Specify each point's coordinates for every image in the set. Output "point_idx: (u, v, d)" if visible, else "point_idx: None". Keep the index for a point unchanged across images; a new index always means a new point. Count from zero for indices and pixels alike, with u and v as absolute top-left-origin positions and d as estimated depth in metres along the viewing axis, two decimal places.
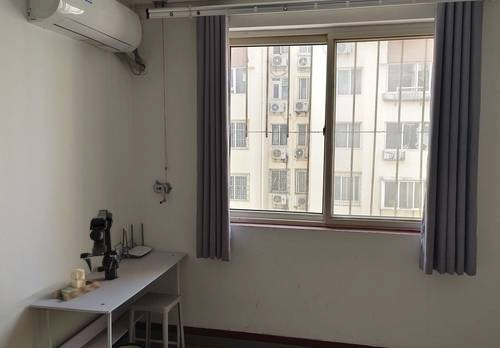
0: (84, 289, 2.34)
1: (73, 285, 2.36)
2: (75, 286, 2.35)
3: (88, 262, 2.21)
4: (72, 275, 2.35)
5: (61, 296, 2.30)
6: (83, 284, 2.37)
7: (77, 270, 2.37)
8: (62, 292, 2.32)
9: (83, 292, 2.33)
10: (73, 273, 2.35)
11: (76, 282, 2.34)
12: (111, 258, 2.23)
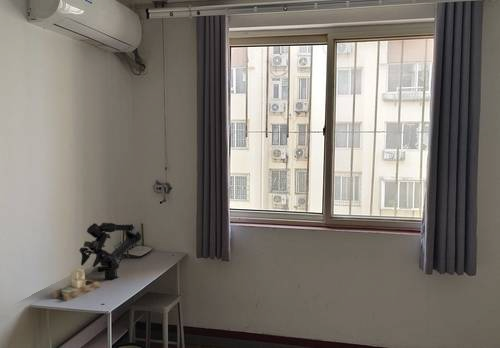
0: (84, 289, 2.34)
1: (73, 285, 2.36)
2: (75, 286, 2.35)
3: (83, 256, 2.46)
4: (72, 275, 2.35)
5: (61, 296, 2.30)
6: (83, 284, 2.37)
7: (77, 270, 2.37)
8: (62, 292, 2.32)
9: (83, 292, 2.33)
10: (73, 273, 2.35)
11: (76, 282, 2.34)
12: (97, 255, 2.41)
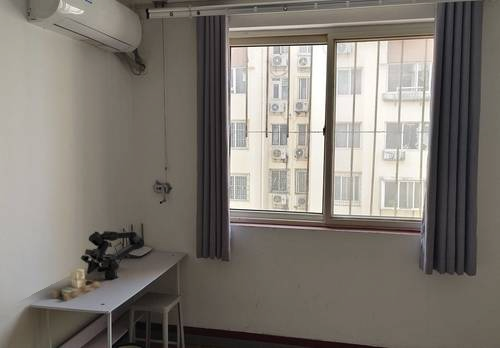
0: (84, 289, 2.34)
1: (73, 285, 2.36)
2: (75, 286, 2.35)
3: (89, 264, 2.45)
4: (72, 275, 2.35)
5: (61, 296, 2.30)
6: (83, 284, 2.37)
7: (77, 270, 2.37)
8: (62, 292, 2.32)
9: (83, 292, 2.33)
10: (73, 273, 2.35)
11: (76, 282, 2.34)
12: (92, 263, 2.44)
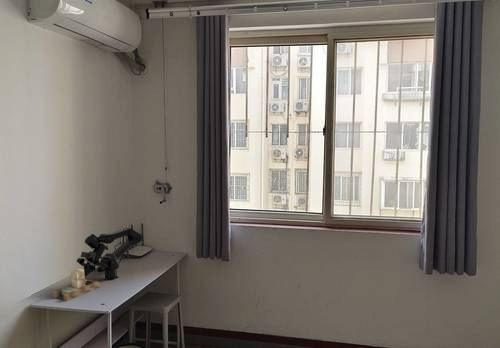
0: (84, 289, 2.34)
1: (73, 285, 2.36)
2: (75, 286, 2.35)
3: (84, 267, 2.42)
4: (72, 275, 2.35)
5: (61, 296, 2.30)
6: (83, 284, 2.37)
7: (77, 270, 2.37)
8: (62, 292, 2.32)
9: (83, 292, 2.33)
10: (73, 273, 2.35)
11: (76, 282, 2.34)
12: (88, 266, 2.41)
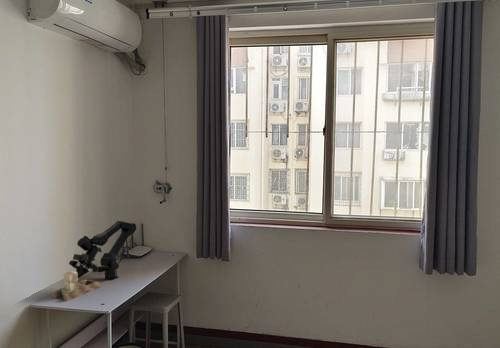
0: (84, 289, 2.34)
1: (66, 288, 2.32)
2: (68, 289, 2.31)
3: (77, 270, 2.38)
4: (65, 277, 2.31)
5: (61, 296, 2.30)
6: (76, 287, 2.33)
7: (70, 272, 2.33)
8: (62, 292, 2.32)
9: (83, 292, 2.33)
10: (66, 275, 2.31)
11: (69, 284, 2.30)
12: (80, 268, 2.37)
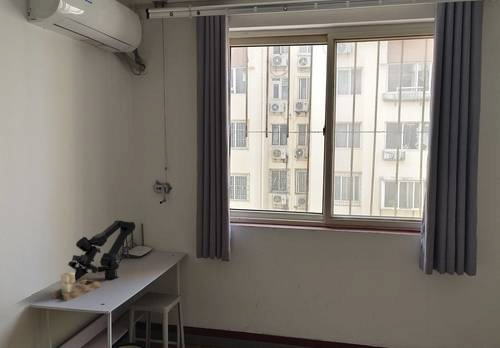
0: (84, 289, 2.34)
1: (63, 289, 2.30)
2: (65, 290, 2.30)
3: (76, 271, 2.38)
4: (62, 279, 2.30)
5: (61, 296, 2.30)
6: (73, 288, 2.32)
7: (67, 273, 2.31)
8: (62, 292, 2.32)
9: (83, 292, 2.33)
10: (63, 276, 2.29)
11: (66, 285, 2.29)
12: (80, 269, 2.36)
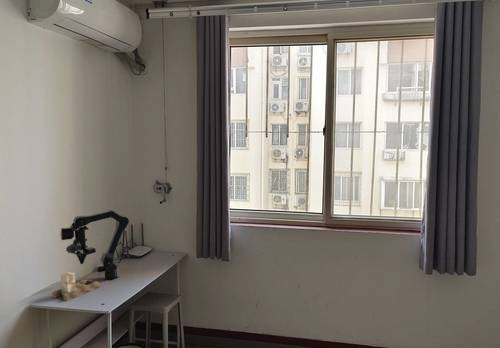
0: (84, 289, 2.34)
1: (63, 289, 2.30)
2: (65, 290, 2.30)
3: (77, 256, 2.47)
4: (62, 279, 2.30)
5: (61, 296, 2.30)
6: (73, 288, 2.32)
7: (67, 273, 2.31)
8: (62, 292, 2.32)
9: (83, 292, 2.33)
10: (63, 276, 2.29)
11: (66, 285, 2.29)
12: (80, 255, 2.45)
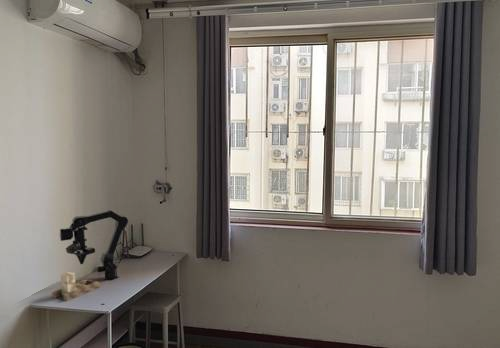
0: (84, 289, 2.34)
1: (63, 289, 2.30)
2: (65, 290, 2.30)
3: (77, 256, 2.48)
4: (62, 279, 2.30)
5: (61, 296, 2.30)
6: (73, 288, 2.32)
7: (67, 273, 2.31)
8: (62, 292, 2.32)
9: (83, 292, 2.33)
10: (63, 276, 2.29)
11: (66, 285, 2.29)
12: (80, 255, 2.46)
